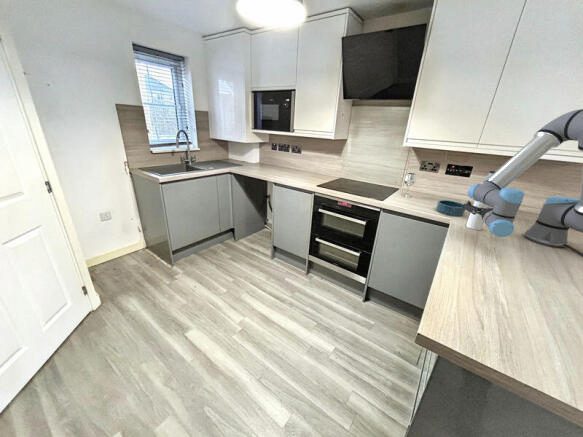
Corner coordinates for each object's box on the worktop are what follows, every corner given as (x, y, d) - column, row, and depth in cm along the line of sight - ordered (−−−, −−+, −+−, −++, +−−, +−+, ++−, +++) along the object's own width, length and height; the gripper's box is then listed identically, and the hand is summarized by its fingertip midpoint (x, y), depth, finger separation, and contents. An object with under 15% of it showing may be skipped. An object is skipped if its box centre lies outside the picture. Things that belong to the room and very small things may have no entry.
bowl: (469, 217, 149) (472, 208, 146) (445, 216, 148) (448, 207, 146) (452, 208, 163) (455, 200, 161) (430, 208, 162) (433, 199, 160)
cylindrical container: (484, 230, 130) (502, 186, 120) (471, 229, 130) (488, 185, 120) (475, 225, 137) (491, 183, 127) (463, 224, 137) (478, 182, 127)
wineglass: (402, 194, 194) (407, 172, 187) (413, 196, 189) (418, 173, 182) (399, 195, 188) (404, 173, 181) (410, 198, 183) (415, 175, 176)
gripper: (458, 219, 115) (453, 207, 133) (524, 231, 105) (509, 216, 122) (463, 205, 112) (457, 194, 130) (531, 215, 102) (515, 202, 119)
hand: (483, 205), depth 126 cm, fingers open, 13 cm apart
